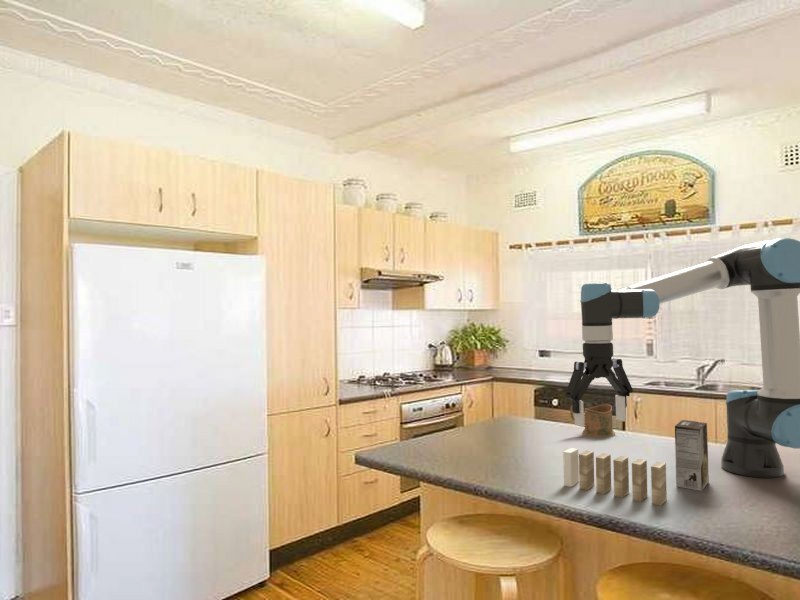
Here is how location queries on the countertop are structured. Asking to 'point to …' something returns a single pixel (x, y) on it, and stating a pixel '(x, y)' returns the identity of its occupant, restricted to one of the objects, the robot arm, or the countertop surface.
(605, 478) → the domino
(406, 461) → the countertop surface
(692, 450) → the coffee box
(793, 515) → the countertop surface
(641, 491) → the domino
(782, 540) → the countertop surface
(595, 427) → the mug
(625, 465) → the domino
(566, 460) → the domino
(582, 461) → the domino
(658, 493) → the domino
